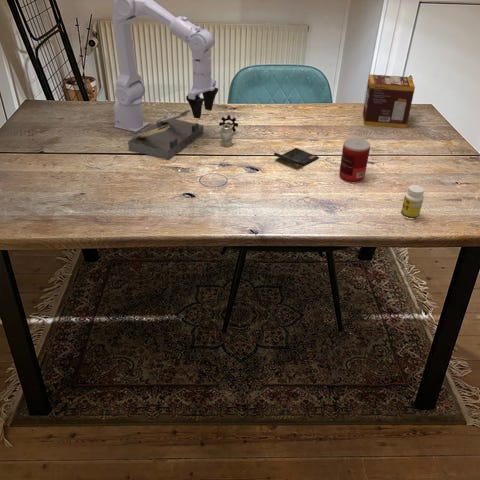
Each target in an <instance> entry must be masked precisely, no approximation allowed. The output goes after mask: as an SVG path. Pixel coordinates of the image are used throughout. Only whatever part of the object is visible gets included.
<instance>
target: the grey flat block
mask: <svg viewBox="0 0 480 480" xmlns="http://www.w3.org/2000/svg"><path fill="white" fill-rule="evenodd" d="M167 117H168V116H167V115H164V116H163V119H164V118H167ZM167 124H168V125H169V126H170V128H168V129H167V130H165V131H162V132H159V133H155V134H152V135H149V136H145V137H142V138H138V135H139V134H137V135H133V136H132V138H131V139H130V140H128V141H127V146H128V151H131V152H135V153H139V154H143V155H147V156H150V157H155V158H159V159H163V160H168V161H169V160H171V159H172V158H174V157H175V156H176V155H177V154H179V153H180V152H182V150H184V149H185V148H186V147H187V146H189V145H190V144H192V143H193V142H194V141H196V140H197V139H198V138H199V137H201V136H203V134H204V125H203V124H199V123H198V122H195V123H194V122H190V121H185V120H180V119H174V120H171V121H168V122H164V123H161V120H157V121H156V123H154V124H153V125H151V126H150V127H148V128H146V129H145V130H140V134H141V133H143V132H147V131H150V130H154V129H157V128H160V127H162V126H164V125H167Z"/></svg>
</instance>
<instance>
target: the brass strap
mask: <svg viewBox="0 0 480 480" xmlns="http://www.w3.org/2000/svg"><path fill="white" fill-rule="evenodd" d="M168 128H170V126H169V125H168V124H167V125H164V126H162V127H160V128H157V129H154V130H150V131H147V132H143V133H141V132H140V133H139V134H137V135H138V138H142V137H145V136H149V135H152V134H155V133H159V132H162V131H165V130H167V129H168Z"/></svg>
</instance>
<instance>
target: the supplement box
mask: <svg viewBox="0 0 480 480" xmlns="http://www.w3.org/2000/svg"><path fill="white" fill-rule="evenodd" d="M367 79H368V81H367V87H366V91H365V97H364V99H365V100H364V105H363V110H362V118H363V125H364V126H369V125H371V127H382V126H385V127H386V128H395V127H396V129H397V128H398V129H407V126H408V121H409V116H410V111H411V107H412V102H413V98H414V93H415V88H416V87H415V84H414V82H413V78H412V77H410V76H400V75H399V76H397V75H384V74H383V75H382V74H380V75H379V74H371V73H370V74H368V78H367Z"/></svg>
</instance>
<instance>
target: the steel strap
mask: <svg viewBox="0 0 480 480" xmlns="http://www.w3.org/2000/svg"><path fill="white" fill-rule="evenodd" d="M191 114H193V113H192V109H187V110H185V111H183V112H180V113H177V114H175V115H172V116H167V118H164V117H163V119H161V120H160V121H161V123H164V122H168V121H171V120H174V119H177V120H179V119H181V118H185V117H187V116H189V115H191Z"/></svg>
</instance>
